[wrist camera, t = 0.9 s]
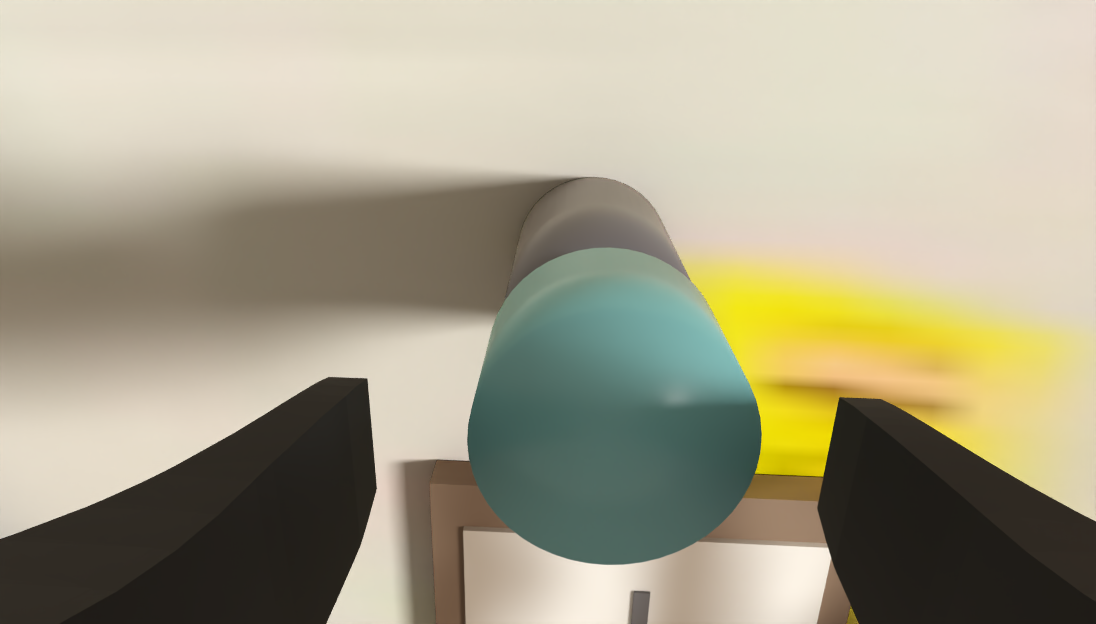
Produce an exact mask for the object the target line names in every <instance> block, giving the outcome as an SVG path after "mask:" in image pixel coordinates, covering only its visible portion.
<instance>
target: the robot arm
mask: <svg viewBox="0 0 1096 624" xmlns="http://www.w3.org/2000/svg"><path fill="white" fill-rule="evenodd" d="M376 489H377V486H376V475H375V463H374V451H373V439H372V428H371V416H370V404H369V392H368V381H367V379H364V378H339V377H328V378H326V379H323V380H321V381H319V382H318V383H316V384H314V385H312V386H310V387H309V388H307V389H305V390H304V391H302V392H300V393H299V394H297V395H295V396H294V397H292V398H291V399H289V400H287V401H286V402H284V403H282V404H281V405H279V406H278V407H276V408H274V409H273V410H271V411H270V412H268V413H266V414H265V415H263V416H261V417H260V418H258V419H256V420H255V421H253V422H252V423H250V424H248V425H247V426H245V427H243V428H242V429H240V430H238V431H237V432H235V433H233V434H232V435H230V436H228V437H226V438H225V439H223V440H221V441H219V442H217V443H216V444H214V445H212V446H210V447H208V448H207V449H205V450H203V451H201V452H199V453H198V454H196V455H194V456H192V457H190V458H189V459H187V460H185V461H183V462H181V463H180V464H178V465H176V466H174V467H172V468H170V469H168V470H166V471H164V472H162V473H160V474H158V475H156V476H154V477H152V478H150V479H148V480H146V481H144V482H142V483H140V484H138V485H135V486H133V487H131V488H129V489H126V490H124V491H122V492H120V493H118V494H115V495H113V496H111V497H109V498H106V499H104V500H102V501H100V502H97V503H95V504H92V505H90V506H88V507H85V508H83V509H80V510H77V511H75V512H72V513H69V514H67V515H64V516H61V517H59V518H56V519H53V520H51V521H48V522H45V523H43V524H40V525H38V526H35V527H32V528H30V529H27V530H24V531H22V532H19V533H16V534H14V535H11V536H8V537H5V538H2V539H0V624H326V623H327V621H328V618H329V616H330V614H331V612H332V609H333V607H334V605H335V603H336V600H337V598H338V596H339V594H340V591H341V589H342V587H343V585H344V582H345V580H346V578H347V575H348V573H349V571H350V569H351V566H352V564H353V562H354V559H355V557H356V555H357V552H358V550H359V548H360V545H361V542H362V539H363V535H364V532H365V529H366V525H367V522H368V519H369V515H370V511H371V508H372V504H373V500H374V497H375V493H376ZM817 510H818V514H819V517H820V521H821V525H822V528H823V532H824V536H825V539H826V543H827V546H828V549H829V552H830V556H831V559H832V562H833V565H834V568H835V571H836V573H837V575H838V578H839V580H840V582H841V584H842V587H843V589H844V591H845V593H846V596H847V598H848V600H849V602H850V605H851V607H852V609H853V611H854V614H855V616H856V618H857V620H858V622H859V624H1096V521H1094V520H1092V519H1090V518H1088V517H1086V516H1084V515H1082V514H1080V513H1078V512H1076V511H1074V510H1072V509H1071V508H1069V507H1067V506H1065V505H1063V504H1061V503H1060V502H1058V501H1056V500H1054V499H1052V498H1050V497H1049V496H1047V495H1045V494H1043V493H1041V492H1039V491H1038V490H1036V489H1034V488H1032V487H1030V486H1029V485H1027V484H1025V483H1023V482H1022V481H1020V480H1018V479H1016V478H1015V477H1013V476H1011V475H1009V474H1008V473H1006V472H1004V471H1003V470H1001V469H999V468H998V467H996V466H994V465H993V464H991V463H989V462H988V461H986V460H984V459H983V458H981V457H979V456H978V455H976V454H974V453H973V452H971V451H969V450H968V449H966V448H965V447H963V446H961V445H960V444H958V443H956V442H955V441H953V440H951V439H950V438H948V437H947V436H945V435H943V434H942V433H940V432H938V431H937V430H935V429H934V428H932V427H930V426H929V425H927V424H925V423H924V422H922V421H920V420H919V419H917V418H915V417H914V416H912V415H910V414H909V413H907V412H905V411H903V410H901V409H900V408H898V407H896V406H894V405H892V404H890V403H888V402H886V401H884V400H882V399H867V398H842V397H839V402H838V407H837V412H836V417H835V422H834V427H833V432H832V437H831V442H830V447H829V452H828V457H827V461H826V466H825V471H824V476H823V481H822V486H821V491H820V496H819V501H818V506H817Z"/></svg>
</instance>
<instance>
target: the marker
mask: <svg viewBox="0 0 1096 624" xmlns="http://www.w3.org/2000/svg"><path fill="white" fill-rule="evenodd" d="M761 435H762V434H761V422H760V415H759V411H758V406H757V402H756V399H755V397H754V394H753V392H752V389H751V387H750V385H749V383H748V381H747V379H746V377H745V375H744V373H743V371H742V369H741V367H740V365H739V363H738V361H737V359H736V357H735V355H734V353H733V351H732V349H731V347H730V345H729V343H728V341H727V340H726V338H725V336H724V334H723V332H722V330H721V328H720V326H719V324H718V322H717V320H716V318H715V316H714V314H713V312H712V310H711V308H710V307H709V305H708V303H707V301H706V300H705V298H704V296H703V295H702V294H701V292H700V291H699V290H698V289H697V288H696V286H695V285H694V284H693V283H692V282H691V280H690V278H689V276H688V274H687V272H686V270H685V268H684V266H683V264H682V262H681V260H680V258H679V256H678V254H677V252H676V250H675V248H674V246H673V244H672V241H671V239H670V237H669V235H668V233H667V231H666V229H665V227H664V225H663V223H662V221H661V219H660V217H659V215H658V214H657V212H656V210H655V209H654V207H653V206H652V205H651V203H650V202H649V201H648V200H647V199H646V198H645V197H644V196H643V195H642V194H640V193H639V192H638V191H636V190H635V189H633V188H631V187H630V186H628V185H626V184H624V183H621V182H618V181H616V180H611V179H607V178H598V177H591V178H581V179H575V180H572V181H569V182H566V183H564V184H561V185H559V186H557V187H556V188H554V189H552V190H551V191H549V192H548V193H547V194H545V195H544V196H543V197H542V198H541V199H540V200H539V201H538V202H537V203H536V204H535V205H534V207H533V208H532V209H531V211H530V212H529V214H528V216H527V218H526V220H525V221H524V224H523V227H522V230H521V233H520V238H519V242H518V246H517V250H516V254H515V259H514V263H513V267H512V271H511V276H510V280H509V284H508V288H507V292H506V297H505V301H504V303H503V305H502V307H501V308H500V310H499V312H498V314H497V317H496V319H495V322H494V325H493V327H492V331H491V335H490V339H489V343H488V347H487V351H486V355H485V358H484V362H483V366H482V370H481V374H480V378H479V382H478V386H477V390H476V394H475V397H474V401H473V405H472V409H471V414H470V419H469V424H468V439H467V443H468V453H469V460H470V464H471V468H472V472H473V475H474V478H475V480H476V483H477V485H478V488H479V490H480V492H481V493H482V495H483V497H484V498H485V500H486V502H487V504H488V505H489V506H490V507H491V509H492V510H493V511H494V513H495V514H496V515H497V516H498V517H499V518H500V519H501V520H502V521H503V522H504V523H505V524H506V525H507V526H508V527H509V528H510V529H511V530H512V531H514V532H515V533H516V534H518V535H519V536H520V537H522V538H523V539H524V540H526V541H528V542H530V543H531V544H533V545H535V546H536V547H538V548H540V549H543V550H545V551H547V552H549V553H552V554H554V555H557V556H560V557H563V558H566V559H569V560H574V561H579V562H584V563H590V564H601V565H625V564H633V563H641V562H646V561H650V560H654V559H659V558H662V557H664V556H667V555H670V554H673V553H676V552H678V551H680V550H682V549H684V548H686V547H688V546H690V545H692V544H694V543H696V542H697V541H699V540H700V539H702V538H703V537H705V536H707V535H708V534H709V533H710V532H712V531H713V530H714V529H715V528H717V527H718V526H719V525H720V524H721V523H722V522H723V521H724V520H725V519H726V518H727V517H728V516H729V515H730V514H731V513H732V512H733V510H734V509H735V508H736V506H737V505H738V504H739V502H740V501H741V500H742V498H743V496H744V495H745V493H746V491H747V489H748V487H749V486H750V484H751V481H752V479H753V476H754V473H755V471H756V468H757V464H758V460H759V455H760V450H761Z"/></svg>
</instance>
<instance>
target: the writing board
mask: <svg viewBox="0 0 1096 624" xmlns="http://www.w3.org/2000/svg"><path fill="white" fill-rule="evenodd" d="M822 481H823V477H801V476H779V475H757V474H754V476H753V479H752V481H751V484H750V486H749V487H748V489H747V491H746V493H745V495H744V496H743V498H742V500H741V501H740V502H739V504H738V505H737V506H736V508H735V509H734V510H733V512H732V513H731V514H730V515H729V516H728V517H727V518H726V519H725V520H724V521H723V522H722V523H721V524H720V525H719V526H718V527H717V528H715V529H714V530H713V531H712V532H710V533H709V534H708V535H707V536H705V537H703V538H702V539H700V540H699V541H697V542H696V543H694V544H692V545H690V546H688V547H686V548H684V549H682V550H680V551H678V552H676V553H673V554H670V555H667V556H664V557H662V558H659V559H654V560H650V561H646V562H641V563H633V564H625V565H601V564H590V563H584V562H579V561H574V560H569V559H566V558H563V557H560V556H557V555H554V554H552V553H549V552H547V551H545V550H543V549H540V548H538V547H536V546H535V545H533V544H531V543H530V542H528V541H526V540H524V539H523V538H522V537H520V536H519V535H518V534H516V533H515V532H514V531H512V530H511V529H510V528H509V527H508V526H507V525H506V524H505V523H504V522H503V521H502V520H501V519H500V518H499V517H498V516H497V515H496V514H495V513H494V511H493V510H492V509H491V507H490V506H489V505H488V504H487V502H486V500H485V498H484V497H483V495H482V493H481V492H480V490H479V488H478V485H477V483H476V480H475V478H474V475H473V472H472V468H471V464H470V462H466V461H443V460H437V461H436V464H435V467H434V470H433V473H432V477H431V480H430V483H429V488H430V508H431V529H432V549H433V570H434V590H435V611H436V624H846V623H847V619H848V615H849V610H850V606H851V605H850V602H849V600H848V598H847V596H846V593H845V591H844V589H843V587H842V584H841V582H840V580H839V578H838V575H837V573H836V571H835V568H834V565H833V562H832V559H831V556H830V552H829V549H828V546H827V543H826V539H825V536H824V532H823V528H822V525H821V521H820V517H819V514H818V510H817V506H818V501H819V496H820V491H821V486H822Z"/></svg>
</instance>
